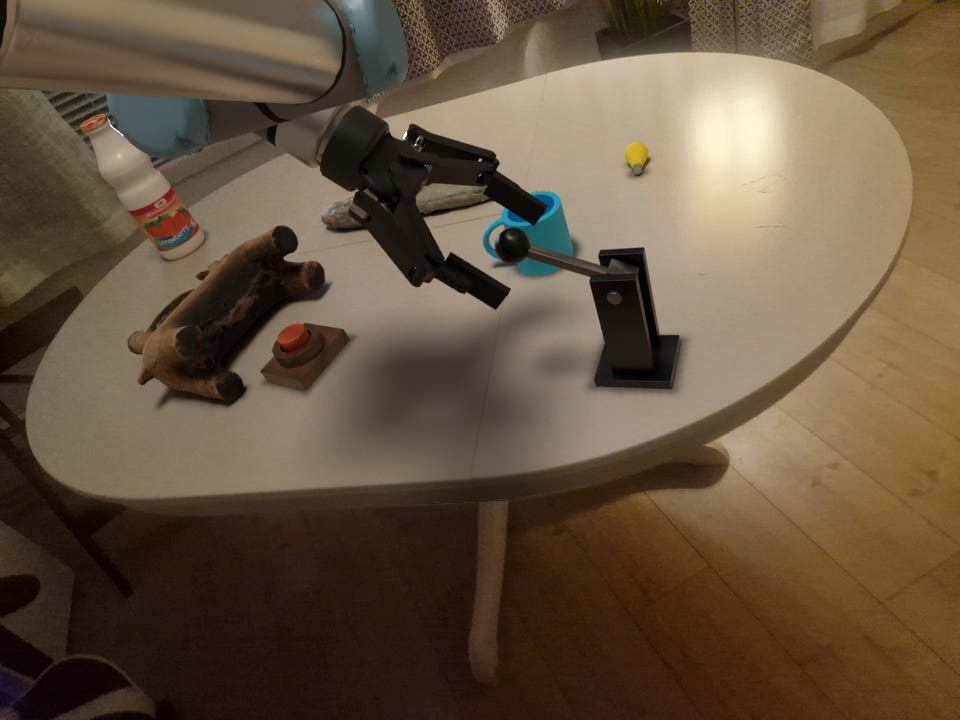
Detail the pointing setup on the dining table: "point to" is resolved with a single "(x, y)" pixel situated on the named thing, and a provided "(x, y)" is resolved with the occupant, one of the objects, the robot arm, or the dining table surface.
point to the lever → (551, 256)
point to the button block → (305, 358)
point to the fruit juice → (143, 191)
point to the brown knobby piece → (221, 314)
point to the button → (293, 337)
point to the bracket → (631, 327)
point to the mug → (537, 233)
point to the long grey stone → (426, 202)
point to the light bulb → (636, 156)
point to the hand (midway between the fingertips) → (523, 255)
